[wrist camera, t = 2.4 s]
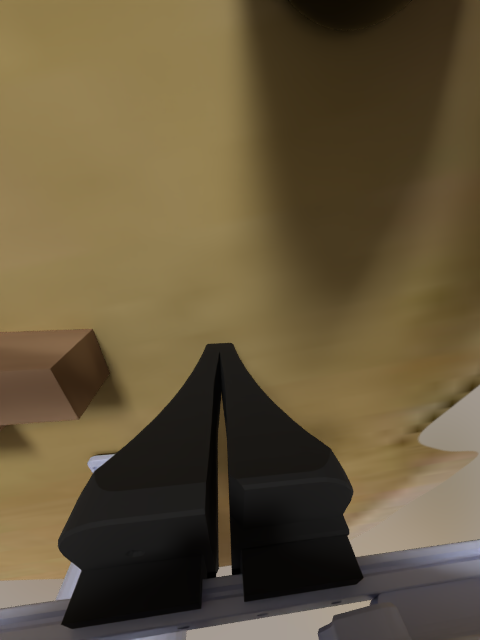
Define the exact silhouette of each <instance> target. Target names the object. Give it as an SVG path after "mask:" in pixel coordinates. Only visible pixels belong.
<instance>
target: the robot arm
mask: <svg viewBox="0 0 480 640" xmlns="http://www.w3.org/2000/svg"><path fill="white" fill-rule="evenodd" d="M221 392H222V400H223V409H224V417H225V425H226V434H227V451H228V478H229V506H230V533H231V561H232V575H229V576H222V577H216V573H217V571H218V569H219V558H218V427H219V415H220V403H221ZM88 466H89V468H90V469H91V471H92V472H93V474H92V476H91V478H90V480H89V481H88V483H87V484H86V486H85V488H84V489H83V491H82V493H81V495H80V497H79V498H78V500H77V502H76V504H75V506H74V509H73V511H72V513H71V515H70V517H69V519H68V521H67V523H66V525H65V527H64V529H63V531H62V533H61V535H60V537H59V539H58V547H59V550H60V552H61V553H62V554H63V556H65V557H66V558H67V559H68V560H70V561H71V564H70V566H69V569H68V571H67V574H66V576H65V578H64V581H63V583H62V585H61V588H60V590H59V593H58V595H57V597H56V600H55V601H50V602H43V603H36V604H29V605H22V606H15V607H8V608H1V609H0V640H186V630H192V629H198V628H204V627H210V626H216V625H222V624H228V623H234V622H240V621H246V620H252V619H258V618H264V617H270V616H276V615H282V614H289V613H294V612H300V611H307V610H313V609H319V608H325V607H331V606H337V605H343V604H349V603H355V602H361V601H367V600H371V603H370V606H367V607H364V608H360V609H356V610H352V611H349V612H345V613H341V614H338V615H334V616H333V620H332V622H331V623H330V624H328V625H326V626H324V627H322V628H320V629H319V631H318V637H319V640H480V539H478V540H471V541H464V542H458V543H451V544H444V545H437V546H430V547H423V548H416V549H409V550H403V551H395V552H389V553H382V554H374V555H368V556H361V557H355V555H354V552H353V549H352V547H351V544H350V542H349V539H348V537H347V535H349V529H348V526H347V524H346V521H345V519H344V516H343V513H344V512H345V510H346V508H347V506H348V505H349V503H350V501H351V498H352V495H353V489H352V486H351V484H350V481H349V479H348V477H347V475H346V473H345V471H344V470H343V468H342V466H341V465H340V463H339V461H338V460H337V458H336V456H335V455H334V453H333V452H332V450H331V449H330V448H329V447H328V446H326V445H325V444H323V443H322V442H321V441H319V440H318V439H317V438H315V437H314V436H312V435H311V434H310V433H308V432H307V431H306V430H304V429H303V428H302V427H301V426H299V425H298V424H297V423H296V422H295V421H293V420H292V419H291V418H290V417H289V416H288V415H287V414H286V413H285V412H283V411H282V410H281V409H280V408H279V407H278V406H277V405H276V404H275V403H274V402H273V401H272V400H271V399H270V398H269V397H268V396H267V395H266V394H265V393H264V391H263V390H262V389H261V388H260V387H259V386H258V384H257V383H256V382H255V380H254V379H253V378H252V376H251V375H250V374H249V372H248V371H247V369H246V368H245V366H244V365H243V363H242V361H241V360H240V358H239V356H238V354H237V352H236V350H235V348H234V345H233V344H232V343H219V344H207V345H206V347H205V350H204V352H203V354H202V356H201V358H200V360H199V362H198V363H197V365H196V367H195V368H194V370H193V372H192V373H191V375H190V376H189V378H188V379H187V381H186V382H185V384H184V385H183V386H182V388H181V389H180V390H179V392H178V393H177V394H176V395H175V397H174V398H173V399H172V400H171V401H170V402H169V404H168V405H167V406H166V407H165V408H164V409H163V410H162V411H161V412H160V414H159V415H158V416H157V417H156V418H155V419H154V420H153V421H152V422H151V423H150V424H149V425H147V426H146V427H145V428H144V429H143V430H142V431H141V432H140V433H139V434H138V435H137V436H136V437H135V438H134V439H133V440H131V441H130V442H129V443H128V444H127V445H126V446H125V447H123V448H122V449H121V450H120V451H118V452H117V453H116V454H108V455H97V456H92V457H91V458H90V459H89V461H88Z"/></svg>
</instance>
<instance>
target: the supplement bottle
mask: <svg viewBox="0 0 480 640" xmlns="http://www.w3.org/2000/svg"><path fill="white" fill-rule="evenodd" d="M288 1H289V2H290V3H291V4H292V5H293V6H294V7H295V8H296V9H297V10H298V11H299V12H300V13H302V14H303V15H304V16H305V17H307V18H308V19H310V20H311V21H313V22H315V23H317V24H319V25H321V26H324V27H327V28H331V29H335V30H347V31H348V30H358V29H362V28H366V27H369V26H372V25H374V24H377V23H379V22H381V21H383V20H385V19H387V18H389V17H390V16H392V15H394V14H395V13H397V12H398V11H399V10H401V9H402V8H404V7H405V6H406V5H407V4H409V3H410V2H411V1H412V0H288Z"/></svg>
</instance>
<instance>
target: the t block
mask: <svg viewBox="0 0 480 640" xmlns="http://www.w3.org/2000/svg"><path fill="white" fill-rule="evenodd" d="M109 374H110V372H109V370H108V367H107V365H106V362H105V359H104V357H103V354H102V352H101V349H100V347H99V344H98V341H97V339H96V336H95V334H94V331H93V329H78V330H50V331H23V332H0V431H1V430H2V429H3V428H4V427H5V426H6V425H11V424H25V423H39V422H53V421H67V420H79V419H80V417H81V416H82V414H83V413H84V411H85V410H86V408H87V407H88V405H89V404H90V402H91V401H92V399H93V398H94V396H95V395H96V393H97V392H98V390H99V389H100V387H101V386H102V384H103V383H104V381H105V380H106V378H107V377H108V375H109Z"/></svg>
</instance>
